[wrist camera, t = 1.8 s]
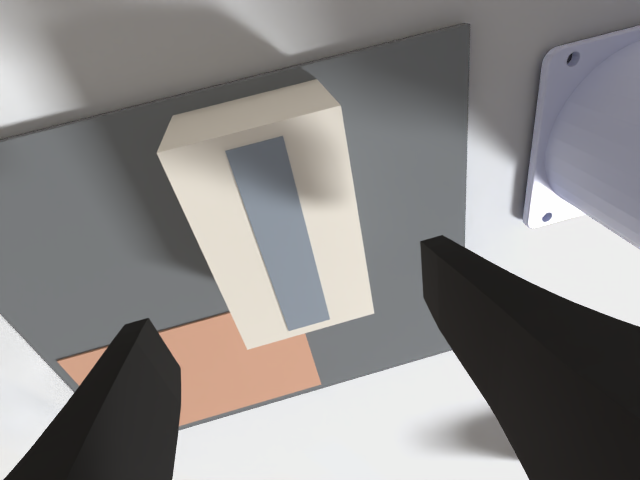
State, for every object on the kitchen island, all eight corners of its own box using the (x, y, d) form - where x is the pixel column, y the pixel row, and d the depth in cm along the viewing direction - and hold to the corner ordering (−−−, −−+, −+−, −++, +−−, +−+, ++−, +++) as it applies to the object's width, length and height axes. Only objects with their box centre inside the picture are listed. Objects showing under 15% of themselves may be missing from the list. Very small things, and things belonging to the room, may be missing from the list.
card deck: (317, 78, 13) (341, 106, 10) (351, 260, 18) (374, 314, 15) (172, 115, 13) (156, 153, 10) (244, 290, 18) (247, 350, 15)
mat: (464, 23, 14) (471, 24, 13) (458, 341, 23) (463, 348, 23) (-121, 170, 13) (-134, 176, 12) (126, 439, 22) (124, 447, 22)
